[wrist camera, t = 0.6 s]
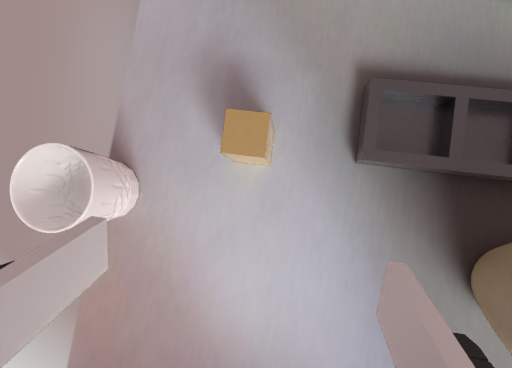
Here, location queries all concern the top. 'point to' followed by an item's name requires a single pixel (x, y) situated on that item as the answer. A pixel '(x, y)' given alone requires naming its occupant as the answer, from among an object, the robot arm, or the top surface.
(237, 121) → the brass block
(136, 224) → the top surface
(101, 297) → the top surface
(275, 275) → the top surface
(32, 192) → the white cup
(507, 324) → the plant pot
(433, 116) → the divided tray
